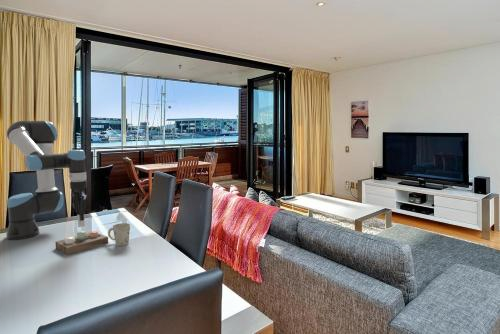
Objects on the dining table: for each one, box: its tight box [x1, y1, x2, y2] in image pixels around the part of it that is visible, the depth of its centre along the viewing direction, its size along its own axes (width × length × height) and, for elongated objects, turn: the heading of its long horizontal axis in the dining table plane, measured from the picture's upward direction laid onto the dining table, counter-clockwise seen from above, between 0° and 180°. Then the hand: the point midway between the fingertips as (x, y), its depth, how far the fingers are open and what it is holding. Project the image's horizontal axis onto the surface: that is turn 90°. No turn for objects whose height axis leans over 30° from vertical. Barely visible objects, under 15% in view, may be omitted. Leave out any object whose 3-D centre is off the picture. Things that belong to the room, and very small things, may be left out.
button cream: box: [64, 236, 76, 245], centre depth 160 cm, size 4×4×4 cm
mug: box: [107, 222, 131, 247], centre depth 167 cm, size 8×13×10 cm, turn 78°
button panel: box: [55, 232, 109, 256], centre depth 165 cm, size 14×20×4 cm
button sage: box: [76, 230, 88, 241], centre depth 164 cm, size 4×4×4 cm
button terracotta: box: [88, 230, 99, 238], centre depth 169 cm, size 4×4×4 cm
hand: (81, 226), depth 163 cm, fingers closed
